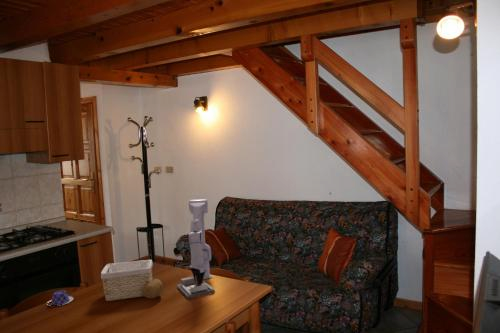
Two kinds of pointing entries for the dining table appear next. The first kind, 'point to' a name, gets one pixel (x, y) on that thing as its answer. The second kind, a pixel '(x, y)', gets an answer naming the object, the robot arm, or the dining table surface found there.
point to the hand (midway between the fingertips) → (198, 282)
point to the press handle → (198, 287)
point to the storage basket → (126, 279)
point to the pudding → (60, 298)
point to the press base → (190, 281)
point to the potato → (152, 289)
